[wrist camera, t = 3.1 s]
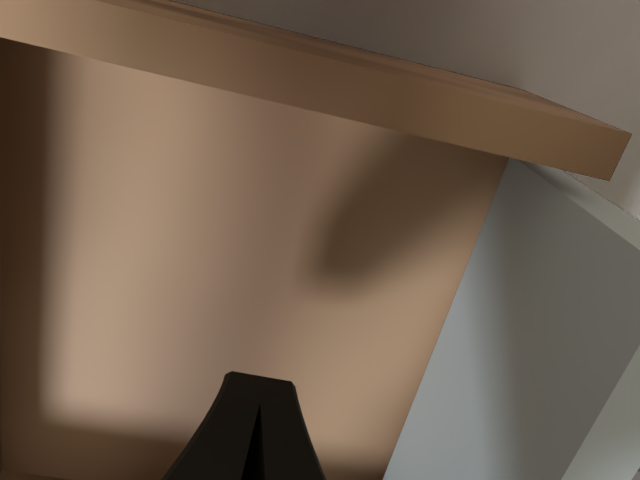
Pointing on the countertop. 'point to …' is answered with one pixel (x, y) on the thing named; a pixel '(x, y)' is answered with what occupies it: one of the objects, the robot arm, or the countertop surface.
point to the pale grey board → (535, 345)
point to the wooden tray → (234, 227)
